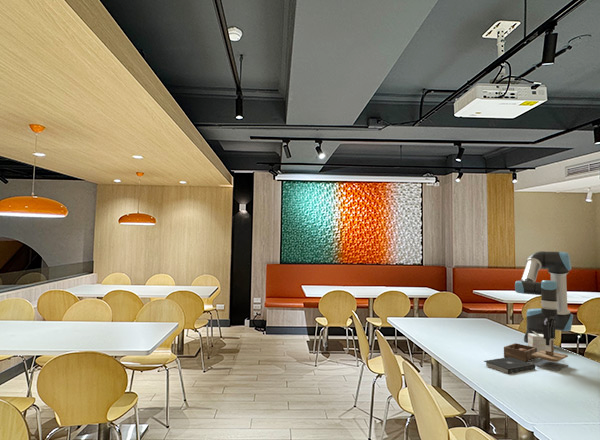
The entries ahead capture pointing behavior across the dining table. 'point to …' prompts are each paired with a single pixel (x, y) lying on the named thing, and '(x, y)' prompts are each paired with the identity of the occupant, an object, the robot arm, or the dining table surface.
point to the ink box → (536, 341)
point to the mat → (550, 364)
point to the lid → (549, 354)
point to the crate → (520, 352)
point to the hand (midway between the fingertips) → (549, 350)
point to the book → (509, 365)
